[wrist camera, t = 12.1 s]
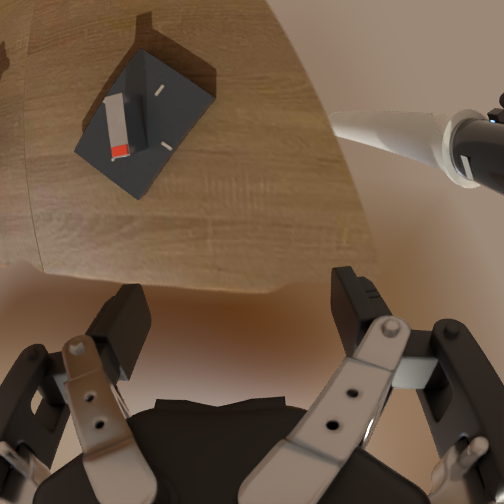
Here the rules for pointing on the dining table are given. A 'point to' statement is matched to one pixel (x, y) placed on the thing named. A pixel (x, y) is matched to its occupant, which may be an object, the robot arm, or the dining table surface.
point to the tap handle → (125, 124)
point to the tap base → (146, 122)
